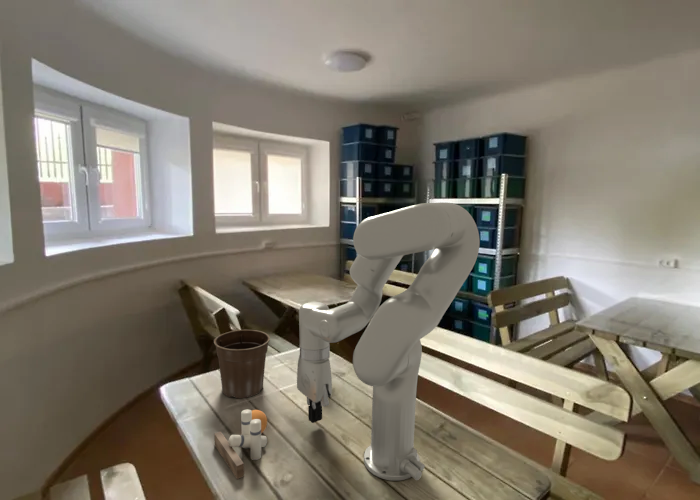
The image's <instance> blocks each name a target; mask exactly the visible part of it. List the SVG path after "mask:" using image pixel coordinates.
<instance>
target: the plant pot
mask: <svg viewBox="0 0 700 500" xmlns="http://www.w3.org/2000/svg"><path fill="white" fill-rule="evenodd" d="M270 341H271V337H270V335H269V334H267V333H266V332H264V331H261V330H255V329H237V330H231V331H228V332H225V333H221V334H219V335H218V336H216V337H215V338H214V339H213V343H214V346H215V349H216V350H215V351H216V355H217V358H218V365H219V373H220V381H221V391H222V394H224V395H225V397H228V398H232V397H234V398H235V399H245V398H246V399H248V398H250V397H251V398H252V396H255V395H257V394H259V393H260V392H261V391H262V390H263V389H264V379H265V367H266V358H267V357H266V356H267V353H268V348H269V347H268V346H269V343H270Z"/></svg>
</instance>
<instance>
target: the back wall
mask: <svg viewBox="0 0 700 500" xmlns="http://www.w3.org/2000/svg"><path fill="white" fill-rule="evenodd" d="M213 435H214V441H213V442H214V446H215V448H216V450H217V451H218V453H219V454H220V456H221V457H222V459H223V460H224V461H225V463H226V465H227V466H228V467H229V469H230V471H231V472H232V474H233V475H234V477H235V478H236V479H237V480H239V479H241V478H243V477H244V476H245V465H244V464H245V463H244V462H243V460H242V459H241V457H240V456H239V455H238V454H237V452H236V451H235V449H234V448H233V447H230V446H229V440H227V438H226V437H225V435H224V434H223V433H222V431H221V430H220V431H218V432H215V433H214V434H213Z"/></svg>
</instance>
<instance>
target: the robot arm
mask: <svg viewBox="0 0 700 500" xmlns="http://www.w3.org/2000/svg"><path fill="white" fill-rule="evenodd" d="M352 240H353V241H352V242H353V247H354V249H355V252H356V253H357V256H356V257H355V259H354V261H353V263H352V264H351V266H350V268H349V275H350V278H351V279H352V280H353V282H354V283H355V284H356V285H357V286H356V289H355V290H354V292H353V294H352V295H351V297H350V298H349V300H348V302H346V303H345V304H342V305H339V306H336V307H333V308H329V306H328V304H326V303H323V302H320V301H310V302H306V303H303V304H301V305H300V307H299V309H298V310H299V311H298V319H299V320H298V322H299V323H298V325H299V331H298V332H299V333H298V334H299V335H298V336H299V355H298V361H297V371H296V372H297V373H296V387H297V390H298V392H300V393H301V394H303V396H305V397H306V403H307V405H308V406H307V407H308V408H307V409H308V417H307V418H308V421H309V422H310V423H312V424H314V423H317V422H319V421H321V420H323V407H328V406H329V405H330V402H329V399H330V398H331V397H332V395H333V381H332V379H333V378H332V367H331V361H330V353H331V352H330V351H331V350H330V347H331V345H330V343H333V344H334V343H337V342H341V341H342V340H344V339H346V338H348V337H350V336H352V335H354V334H356V333H359V332H360V331H362V330H364V328H365V330H364V332H363V333H362V335H361V337H360V339H359V340H358V341H357V344H356V346H355V349H354V350H353V353H352V366H353V371H354V373H355V375H356V377H357V378H358V379H359V380H360V382H362V383H363V384H365V385H367V386H370V387H372V400H371V401H372V402H371V403H372V404H371V405H372V407H371V434H370V435H371V438H370V439H371V441H370V445H369V446H367V447H366V449H365V450H364V452H363V463H364V466H365V467H366V469H367V470H368V471H369V472H370V473H371V474H372V475H374V476H376V477H377V478H379V479H383V480H388V481H403V480H407V479H410V478H413V479H414V480H415V481H419V480H420V479H421V477H422V471H424V469H425V464H424V463H423V462H421V460H420V456H419V454H418V449H416V448H415V446H414V444H415V442H414V441H415V426H416V425H415V423H416V403H417V402H416V401H417V388H418V387H417V386H418V378H419V371H420V366H421V362H422V355H423V354H422V353H423V351H422V350H423V349H422V343H421V339H423V338H424V337H425V336H427V335H429V334H430V333H432V331H434V330H435V329H436V327H438V325H439V324H440V322H441V320H442V319H443V316H444V315H445V313H446V311H447V310H448V308H449V307H450V305H451V303H453V300H454V299H455V298H456V296H457V294H458V293H459V291H460V290H461V288H462V287H463V285H464V283H465V282H466V280H467V279H468V277H469V275H470V273H471V271H472V270H473V268H474V266H475V264H476V261H477V258H478V256H479V252H480V234H479V229H478V227H477V224H476V222H475V220H474V218H473V216H472V215H471V213H469V211H467V209H466V208H464V207H462V206H461V205H459V204H456V203H453V202H425V203H424V202H423V203H418V204H414V205H409V206H406V207H402V208H399V209H395V210H392V211H389V212H384V213H380V214H377V215H373V216H368V217H367V218H364V219H363V220H362V221H360V223H359V224H358V225H357V226H356V228H355V230H354V233H353V239H352ZM432 250H433V251H432ZM427 251H432V253H431V254H430V255H429V257H428V259H426V261H425V262H424V263H423V265H422V266H421V267H420V269H419V272H418V273H417V275H416V276H415V278H414V280H413V281H412V282H411V284H410V285H409V286H408V288H406V290H403V291H402V292H400V293H399V294H396V295H394V296H391V297H389V298H388V299H386V300H385V301H384V302H382V297H383V291H384V290H383V288H384V286H385V285H386V284H387V282H388V280H389V279H390V277H391V275H392V274H393V272H394V271H395V269H396V267H397V265H398V264H399V263H400V261H401V260H402V258H403V257H404V256H406V255H410V254H411V255H412V254H416V253H424V252H427ZM381 302H382V304H381ZM380 304H381V305H380ZM366 326H367V327H366Z"/></svg>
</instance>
